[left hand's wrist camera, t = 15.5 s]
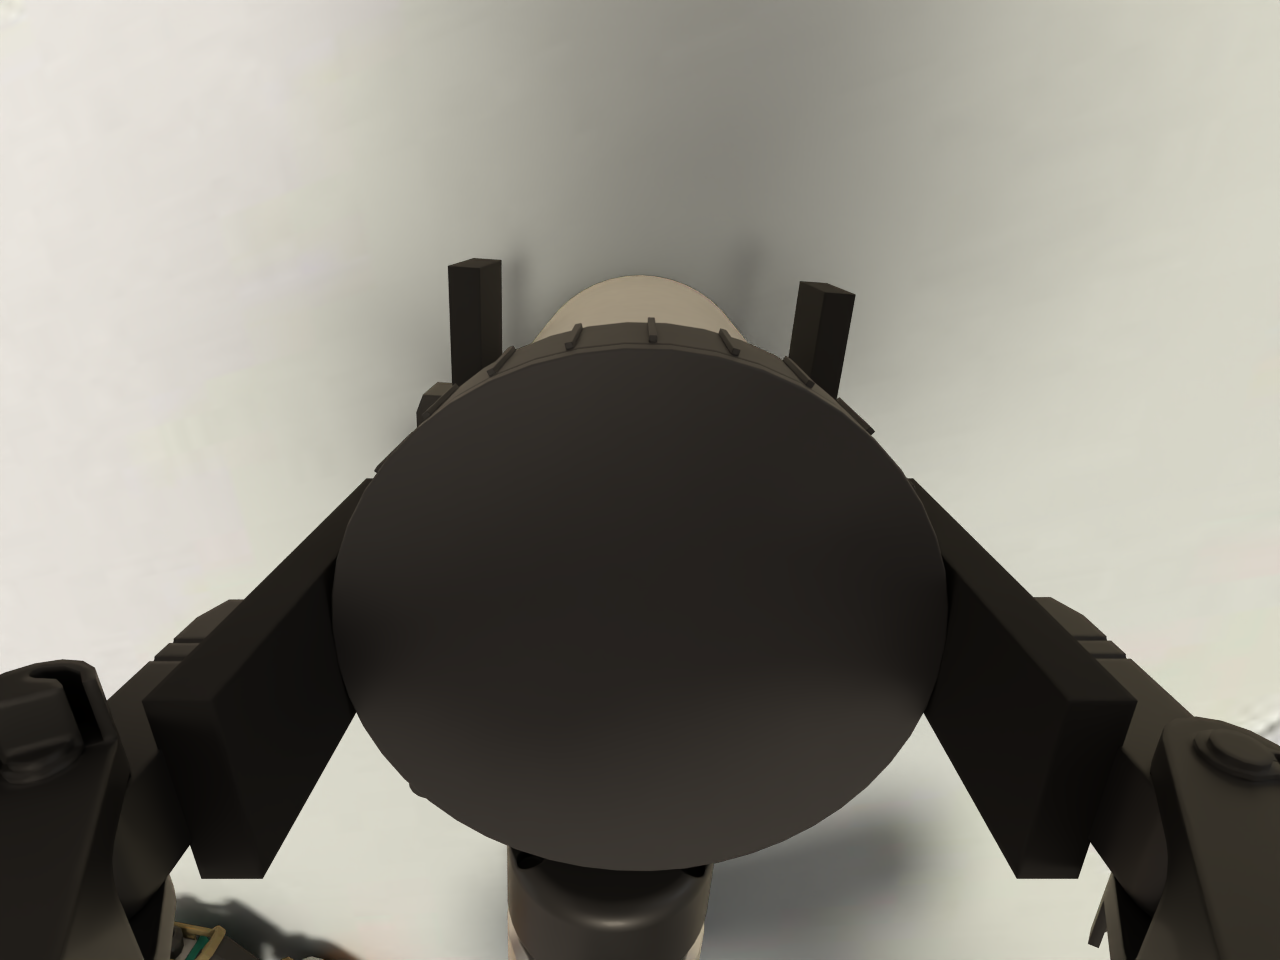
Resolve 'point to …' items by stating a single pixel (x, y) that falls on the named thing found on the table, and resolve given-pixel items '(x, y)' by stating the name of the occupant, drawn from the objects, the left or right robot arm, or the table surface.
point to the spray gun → (208, 945)
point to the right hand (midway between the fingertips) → (652, 275)
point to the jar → (639, 306)
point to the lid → (639, 600)
